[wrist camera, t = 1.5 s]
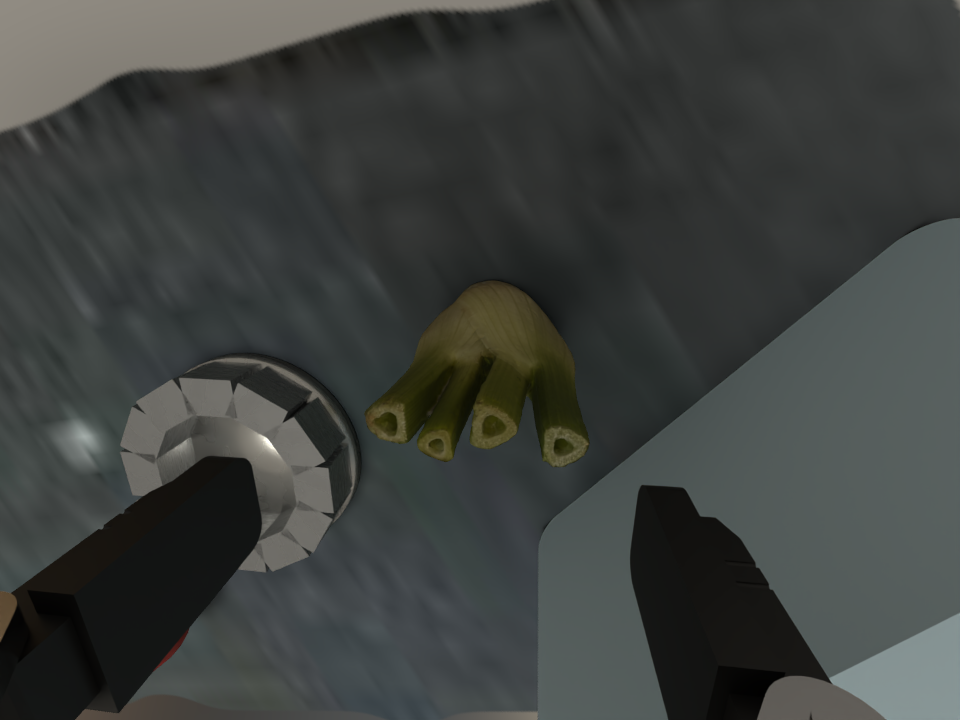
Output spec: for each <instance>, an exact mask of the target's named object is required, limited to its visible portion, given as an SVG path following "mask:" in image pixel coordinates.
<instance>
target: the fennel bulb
mask: <svg viewBox="0 0 960 720" xmlns="http://www.w3.org/2000/svg"><path fill="white" fill-rule="evenodd" d="M526 396H528V397H529V398H530V400H531V401H532V404H533V411H534V418H535V424H536V429H537V434H538V439H539V443H540V447H541V452H542V458H543V461H546V462H548V463H549V464H550V465H551V466H552V467H565V466H566V465H568V464H569V463H573V462H576V461H577V460H579V459H580V458H581V457H583V456H584V455H585V453H586V451H587V450H588V447H589V444H590V442H589V438H588V432H587V430H586V427H585V424H584V422H583V419H582V415H581V411H580V408H579V405H578V402H577V397H576V389H575V362H574V359H573V356H572V353H571V351H570V350H569V349H568V346H567V345H566V343H565V341H564V340H563V339H562V337H561V335H559V334H558V332H557V329H556V328H555V327H554V325H553V324H552V323H551V321H550V320H549V318H548V317H547V315H546V314H545V313H544V312H543V311H542V310H541V309H540V307H539V306H538V305H537V304H536V303H535V302H534V301H533V300H532V298H531V297H529V296H528V295H527V294H526V293H525V292H523V291H521V290H520V289H518V288H517V287H515V286H513V285H511V284H508V283H504V282H500V281H494V280H493V281H484V282H479V283H475V284H473V285H471V286H470V287H468V288H467V289H466V290H464V292H463V293H462V294H461V295H460V296H459V297H458V299H457V300H456V301H455V302H454V303H453V304H452V305H450V306H449V307H448V308H447V309H445V310H444V311H442V312H441V313H440V314H439V316H438V317H436V319H435V320H434V321H433V322H432V323H431V324H430V325H429V326H428V327H427V329H426V330H425V332H424V333H423V334H422V336H421V338H420V340H419V343H418V347H417V350H416V354H415V357H414V361H413V363H412V364H411V366H410V368H409V369H408V371H407V372H406V373H405V374H404V375H403V376H402V377H401V378H400V379H399V380H398V381H397V382H396V383H395V384H394V385H393V386H392V387H391V388H390V389H389V390H388V391H387V392H386V393H385V394H384V395H383V396H382V397H381V398H379V399H378V400H377V401H375V402H374V403H373V404H372V405H371V406H370V407H369V408H368V409H367V410H366V411H365V413H364V415H365V417H366V423H367V427H368V429H369V430H370V431H371V432H372V433H374V434H375V435H376V436H377V437H378V438H380V439H384V440H387V441H391V442H394V443H399V444H403V443H407V442H409V441H410V440H411V439H412V438H413V436H414V435H415V434H416V433H417V431H418V430H419V429H420V427H421V426H422V425H423V424H424V423H425V425H424V428H423V430H422V431H421V433H420V434H419V437H418V439H417V446H418V448H419V450H420V451H422V452H423V453H424V454H426V455H428V456H430V457H433V458H436V459H438V460H441V461H444V462H448V461H450V460H451V459H453V457H454V452H455V448H456V445H457V442H458V441H459V438H460V435H461V433H462V430H463V428H464V426H465V425H466V422H467V420H468V417H469V415H470V414H471V411H472V409H473V410H474V415H473V419H472V427H471V431H470V443H471V444H472V445H473V446H475V447H478V448H482V449H492V448H494V447H496V446H498V445H501V444H502V443H504V442H507V441H508V440H509V439H510V438H512V437H513V436H515V435H516V433H517V431H518V428H519V423H520V420H521V416H522V409H523V406H524V402H525V398H526ZM430 415H431V416H430ZM429 416H430V417H429ZM428 418H429V419H428Z"/></svg>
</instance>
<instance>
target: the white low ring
mask: <svg viewBox="0 0 960 720" xmlns="http://www.w3.org/2000/svg"><path fill="white" fill-rule="evenodd" d="M136 403H137V405H135V406H132V409H131V412H130V415H129V419H128V422H127V425H126V428H125V431H124V435H123V438H122V441H121V444H120V446H122V447H124V448H125V449H124V450H122V451H121V452H120V453H121V456H122V460H123V463H124V467H125V470H126V473H127V477H128V480H129V484H130V487H131V491H132V494H133V495H139V496H142V497H143V496H144V495H146V494H147V493H149V492H150V491H152V490H155V489H157V488H159V487H161V486H163V485H165V484H167V483H169V482H171V481H173V480H174V479H176V478H177V477H178V476H180V475H181V474H182V473H184V472H185V471H186V470H188V469H189V468H190V467H192V466H193V465H194V464H196V463H197V462H198V461H200V460H201V459H202V458H204V457H206V456H223V457H239V458H245V459H247V460H248V461H249V462H250V463H251V466H252V469H253V474H254V479H255V485H256V490H257V495H258V501H259V506H260V511H261V516H262V529H261V534H260V537H259V540H258V542H257V544H256V546H255V548H254V549H253V551H252V552H251V553H250V555H249V556H248V557H247V558H246V559H245V561H244V562H243V563H242V564H241V566H240V567H239V568H238V569H240V570H250V571H259V572H267V571H268V570H269V568H270V569H271V570H272V572H273V571H275V570H277V569H280V568H282V567H285V566H287V565H289V564H292V563H294V562H297V561H299V560H301V559H304V558H306V557H309V556H310V554H311V553H312V552H314V551H315V549H316V548H317V546H318V545H319V543H320V542H321V540H322V539H323V537H324V536H325V534H326V533H327V531H328V530H329V528H330V527H331V525H332V524H333V523H334V522H335V521H336V520H337V519H338V518H339V517H340V515H341V514H342V512H343V511H344V510H345V508H346V507H347V505H348V504H349V502H350V500H351V499H352V497H353V495H354V493H355V491H356V489H357V485H358V482H359V479H360V471H361V454H360V447H359V442H358V439H357V436H356V433H355V430H354V428H353V426H352V423H351V421H350V419H349V417H348V416H347V414H346V412H345V411H344V409H343V407H342V406H341V405H340V404H339V402H338V401H337V400H336V398H335V397H334V396H333V395H332V394H331V393H330V392H329V391H328V390H327V389H326V388H325V387H324V386H323V385H322V384H321V383H319V382H318V381H317V380H316V379H315V378H313V377H312V376H310V375H309V374H307V373H306V372H304V371H303V370H301V369H299V368H297V367H295V366H294V365H292V364H290V363H287V362H285V361H282V360H279V359H277V358H273V357H269V356H265V355H260V354H251V353H235V354H229V355H223V356H220V357H217V358H214V359H211V360H209V361H207V362H205V363H202V364H200V365H198V366H196V367H194V368H192V369H190V370H188V371H187V372H186V373H184V374H183V375H180V376H178V377H176V378H174V379H172V380H170V381H169V382H167V383H165V384H164V385H162V386H161V387H159V388H157V389H156V390H154V391H153V392H151V393H149V394H148V395H146V396H145V397H143V398H141V399H140V400H138V401H136ZM142 497H141V498H142ZM138 500H139V499H138ZM138 500H137V501H138Z"/></svg>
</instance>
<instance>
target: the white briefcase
mask: <svg viewBox="0 0 960 720" xmlns="http://www.w3.org/2000/svg"><path fill="white" fill-rule="evenodd" d="M641 485H654V486H669V487H682V488H684V489H685V490H686V491H687V493H688V495H689V497H690V498H691V500H692V502H693V504H694V506H695V508H696V509H697V511H698V513H699V515H700V516H702V517H716V518H717V519H718V520H719V521H720V522H722V523H723V524H724V525H725V526H726V527H727V528H729V529H730V530H731V531H732V532H733V533H735V534H736V535H737V536H738V537H739V538H740V539H741V540H742V542H743V543H744V545H745V547H746V548H747V550H748V551H749V553H750V554H751V556H752V558H753V559H754V561H755V562H756V568H759V569H760V570H761V572H762V573H763V575H764V577H765V578H766V580H767V581H768V583H769V588H770V590H773V591H774V592H775V594H776V596H777V597H778V599H779V600H780V602H781V604H782V605H783V607H784V608H785V610H786V611H787V613H788V615H789V616H790V618H791V619H792V621H793V623H794V624H795V626H796V627H797V629H798V630H799V632H800V634H801V635H802V637H803V638H804V640H805V642H806V643H807V645H808V646H809V648H810V649H811V651H812V653H813V654H814V656H815V657H816V659H817V660H818V662H819V664H820V665H821V667H822V668H823V670H824V672H825V673H826V675H827V676H828V678H829V679H830V681H831V682H832V684H833V685H836V686H838V687H840V688H842V689H844V690H846V691H847V692H849V693H851V694H853V695H854V696H856V697H857V698H859V699H861V700H862V701H864V702H865V703H866V704H868V705H869V706H870V707H872V708H873V709H875V710H876V711H877V712H878V713H879V714H880V715H882V716H883V717H884V718H885V719H886V720H960V218H954V219H947V220H942V221H938V222H935V223H932V224H929V225H926V226H924V227H922V228H919V229H917V230H915V231H913V232H911V233H909V234H907V235H905V236H904V237H902V238H900V239H899V240H897V241H896V242H895V243H893V244H892V245H891V246H890V247H888V248H887V249H886V250H885V251H883V252H882V253H881V254H880V255H879V256H877V257H876V258H875V259H874V260H872V261H871V262H870V263H869V264H867V265H866V266H865V267H864V268H862V269H861V270H860V271H859V272H857V273H856V274H855V275H854V276H853V277H851V278H850V279H849V280H848V281H846V282H845V283H844V284H843V285H841V286H840V287H839V288H838V289H836V290H835V291H834V292H833V293H831V294H830V295H829V296H828V297H827V298H825V299H824V300H823V301H822V302H820V303H819V304H818V305H817V306H815V307H814V308H813V309H812V310H810V311H809V312H808V313H807V314H805V315H804V316H803V317H802V318H801V319H799V320H798V321H797V322H796V323H794V324H793V325H792V326H791V327H789V328H788V329H787V330H786V331H784V332H783V333H782V334H781V335H779V336H778V337H777V338H776V339H775V340H773V341H772V342H771V343H770V344H768V345H767V346H766V347H765V348H763V349H762V350H761V351H760V352H758V353H757V354H756V355H755V356H753V357H752V358H751V359H750V360H749V361H747V362H746V363H745V364H744V365H742V366H741V367H740V368H739V369H737V370H736V371H735V372H734V373H732V374H731V375H730V376H729V377H727V378H726V379H725V380H724V381H723V382H721V383H720V384H719V385H718V386H716V387H715V388H714V389H713V390H711V391H710V392H709V393H708V394H706V395H705V396H704V397H703V398H701V399H700V400H699V401H698V402H697V403H695V404H694V405H693V406H692V407H690V408H689V409H688V410H687V411H685V412H684V413H683V414H682V415H680V416H679V417H678V418H677V419H675V420H674V421H673V422H672V423H671V424H669V425H668V426H667V427H666V428H664V429H663V430H662V431H661V432H659V433H658V434H657V435H656V436H654V437H653V438H652V439H651V440H649V441H648V442H647V443H646V444H645V445H643V446H642V447H641V448H640V449H638V450H637V451H636V452H635V453H633V454H632V455H631V456H630V457H628V458H627V459H626V460H625V461H623V462H622V463H621V464H620V465H619V466H617V467H616V468H615V469H614V470H612V471H611V472H610V473H609V474H607V475H606V476H605V477H604V478H602V479H601V480H600V481H599V482H597V483H596V484H595V485H594V486H593V487H591V488H590V489H589V490H588V491H586V492H585V493H584V494H583V495H581V496H580V497H579V498H578V499H576V500H575V501H574V502H573V503H571V504H570V505H569V506H568V507H567V508H565V509H564V510H563V511H562V512H560V513H559V514H558V515H557V516H555V517H554V518H553V519H552V520H551V521H550V523H549V524H548V525H547V527H546V528H545V530H544V532H543V534H542V536H541V539H540V542H539V547H538V720H668V717H667V713H666V709H665V706H664V702H663V698H662V694H661V691H660V687H659V683H658V679H657V675H656V672H655V668H654V664H653V660H652V657H651V653H650V649H649V645H648V642H647V638H646V634H645V630H644V626H643V623H642V619H641V615H640V611H639V608H638V604H637V600H636V596H635V593H634V589H633V585H632V579H631V571H630V549H631V541H632V534H633V526H634V519H635V511H636V504H637V497H638V491H639V488H640V486H641Z"/></svg>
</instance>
